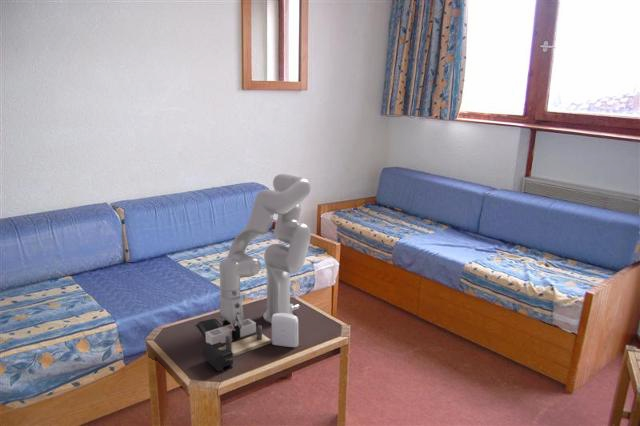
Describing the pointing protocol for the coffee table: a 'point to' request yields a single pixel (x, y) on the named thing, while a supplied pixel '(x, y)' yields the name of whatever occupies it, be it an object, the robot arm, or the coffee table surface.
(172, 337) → the coffee table surface
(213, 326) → the phone
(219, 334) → the white long block
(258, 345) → the board
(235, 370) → the coffee table surface
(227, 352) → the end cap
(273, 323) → the photo printer
